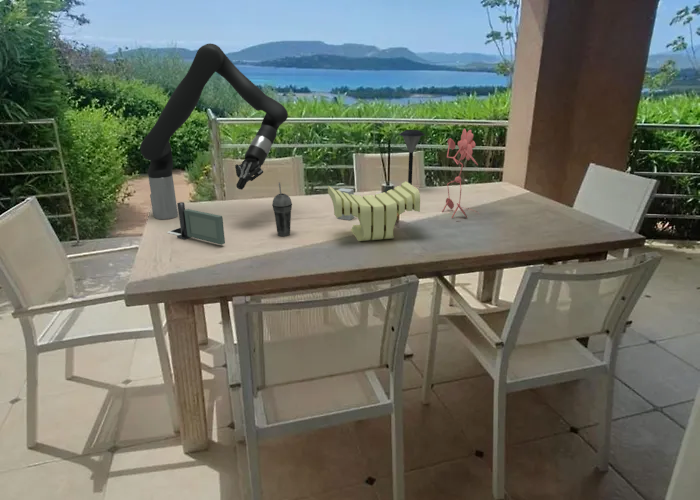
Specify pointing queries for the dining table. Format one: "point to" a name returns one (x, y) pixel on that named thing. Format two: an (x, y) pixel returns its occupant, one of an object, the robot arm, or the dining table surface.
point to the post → (182, 221)
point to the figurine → (465, 151)
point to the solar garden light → (411, 147)
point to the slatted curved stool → (376, 210)
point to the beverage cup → (282, 213)
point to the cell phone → (175, 231)
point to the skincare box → (349, 191)
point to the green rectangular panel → (204, 226)
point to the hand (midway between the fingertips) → (239, 188)
